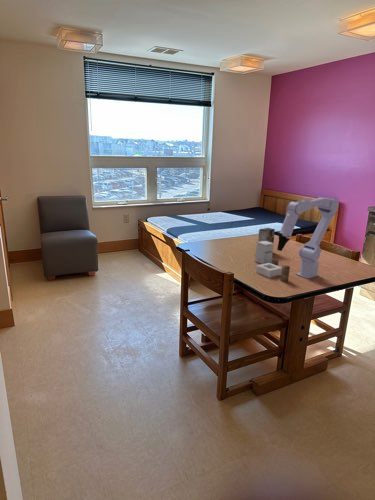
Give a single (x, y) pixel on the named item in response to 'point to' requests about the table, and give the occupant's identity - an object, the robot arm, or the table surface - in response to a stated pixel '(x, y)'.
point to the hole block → (269, 270)
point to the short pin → (275, 262)
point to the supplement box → (264, 252)
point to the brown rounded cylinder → (285, 273)
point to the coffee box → (266, 235)
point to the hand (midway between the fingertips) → (279, 250)
